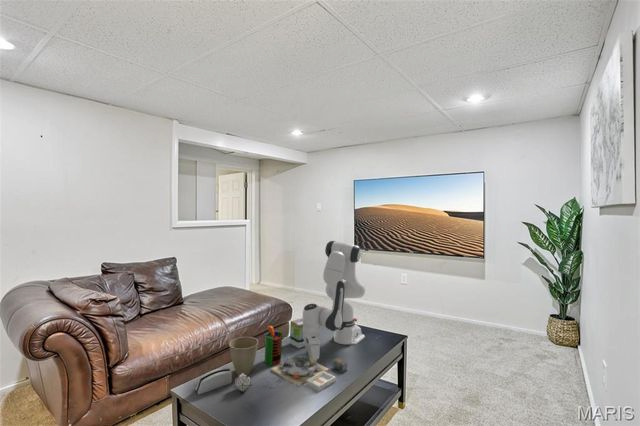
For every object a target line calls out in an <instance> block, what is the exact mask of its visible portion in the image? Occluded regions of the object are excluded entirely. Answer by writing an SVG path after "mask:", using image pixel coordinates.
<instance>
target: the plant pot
mask: <svg viewBox="0 0 640 426" xmlns="http://www.w3.org/2000/svg"><path fill="white" fill-rule="evenodd" d="M228 345H229V352H230V357H231V361H232V364H233V368H234V370H235V373H236V374H237V375H238V376H239V375H240V374H241V373H242V371H243V373H244V374H246V375H249V374H251V371H252V369H253V366H254V363H255V361H256V356H257V352H258V346H259V340H258V339H257V338H255V337H252V336H240V337H236V338H233V339H232V340H231V341H229V344H228Z"/></svg>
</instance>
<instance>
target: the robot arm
mask: <svg viewBox="0 0 640 426" xmlns="http://www.w3.org/2000/svg"><path fill="white" fill-rule="evenodd" d="M324 251H325V252H324V253H325V255H326V257H327V260H326V263H325V267H324V270H323V274H322V275H323V276H322V278H323V280H324V283H325V284H326V286H325V294H326V296H327V297H328V298H330V299H331V301H332V307H331V309H329V308H327V307H325V306H319V305H318V304H316V303H308V304H306V305H305V306H304V307H303V310H302V318H303V339H304V345H305V346H304V347H305V349H306V351H307V353H308V358H309V360H310V356H311V358H312V360H319V358H320V349H321V348H320V346H321V345H320V344H321V336H320V328H319V327H320V326H322V327H324V328H326V329H327V330H330V331H331V332H333V333H334V334H333V335H332V336H333V341H334V342H335V343H337V344H340V345H353V346H355V345H357V344H358V343H359V342H361V341H363V339H364V338H365V337H366V336H365V334H363V333H362V328H361V327H360V326H358V325H357V324H356V323H357V322H358V318H354V307H353V305H352V304H350V303H349V302H346V301H345V299H359V298H362V297H364V295H365V292H366V286H365V285H364V284H363V283H362V282H361V281H360V280H359V279H358V277H357V275H356V266H357V265H356V263H358V262H359V261H360V260H361V258H362V249H361V247H360V246H359V245H356V244H352V243H348V242H345V241H344V242H343V241H336V240H330V241H329V242H327V243H326V246H325V250H324Z"/></svg>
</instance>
